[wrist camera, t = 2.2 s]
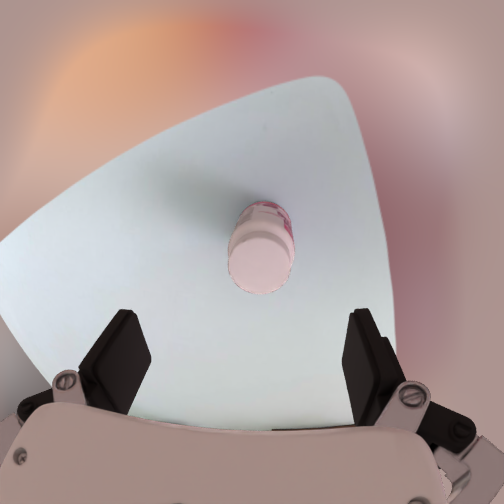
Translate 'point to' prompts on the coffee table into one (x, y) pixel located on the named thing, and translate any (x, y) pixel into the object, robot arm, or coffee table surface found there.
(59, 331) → the coffee table surface
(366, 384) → the robot arm
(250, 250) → the pill bottle
